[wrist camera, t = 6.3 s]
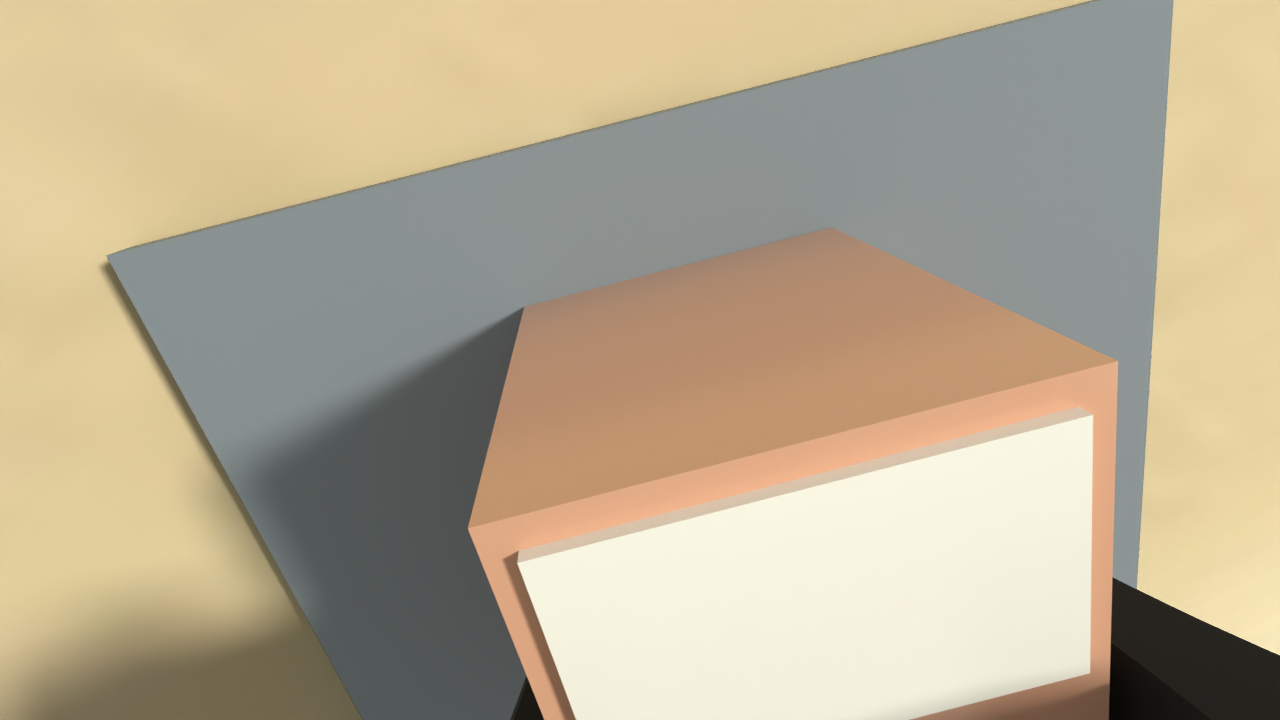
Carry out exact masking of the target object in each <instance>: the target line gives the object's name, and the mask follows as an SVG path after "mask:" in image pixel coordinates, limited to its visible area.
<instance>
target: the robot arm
mask: <svg viewBox="0 0 1280 720" xmlns="http://www.w3.org/2000/svg"><path fill="white" fill-rule="evenodd" d="M510 720H544V718H543V715H542V713H541V710H540V708H539V705H538V703H537V700H536V698H535V695H534V693H533V690H532V688H531V685H530V683H529V680H528V678H527V675H526V678H525V681H524V684H523V687H522V689H521V692H520V695H519V698H518V700H517V703H516V706H515V708H514V711H513V714H512V716H511V719H510ZM1109 720H1280V655H1277V654H1275V653H1273V652H1270V651H1268V650H1266V649H1263V648H1261V647H1259V646H1257V645H1255V644H1252V643H1250V642H1248V641H1246V640H1243V639H1241V638H1239V637H1237V636H1235V635H1232V634H1230V633H1228V632H1226V631H1223V630H1221V629H1219V628H1217V627H1215V626H1212V625H1210V624H1208V623H1206V622H1203V621H1201V620H1199V619H1197V618H1195V617H1193V616H1191V615H1189V614H1187V613H1184V612H1182V611H1180V610H1178V609H1176V608H1174V607H1172V606H1170V605H1168V604H1166V603H1163V602H1161V601H1159V600H1157V599H1155V598H1153V597H1151V596H1149V595H1147V594H1145V593H1143V592H1141V591H1139V590H1137V589H1135V588H1133V587H1131V586H1129V585H1127V584H1125V583H1123V582H1121V581H1119V580H1117V579H1115V578H1113V577H1112V614H1111V652H1110V690H1109Z"/></svg>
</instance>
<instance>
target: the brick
mask: <svg viewBox="0 0 1280 720" xmlns="http://www.w3.org/2000/svg"><path fill="white" fill-rule="evenodd" d="M1117 387H1118V361H1117V360H1115V359H1113V358H1111V357H1108V356H1106V355H1104V354H1102V353H1100V352H1098V351H1096V350H1093V349H1091V348H1089V347H1087V346H1085V345H1083V344H1081V343H1078V342H1076V341H1074V340H1072V339H1070V338H1068V337H1066V336H1063V335H1061V334H1059V333H1057V332H1055V331H1053V330H1051V329H1048V328H1046V327H1044V326H1042V325H1040V324H1038V323H1036V322H1034V321H1031V320H1029V319H1027V318H1025V317H1023V316H1021V315H1019V314H1016V313H1014V312H1012V311H1010V310H1008V309H1006V308H1004V307H1001V306H999V305H997V304H995V303H993V302H991V301H989V300H986V299H984V298H982V297H980V296H978V295H976V294H974V293H971V292H969V291H967V290H965V289H963V288H961V287H959V286H956V285H954V284H952V283H950V282H948V281H946V280H944V279H941V278H939V277H937V276H935V275H933V274H931V273H929V272H926V271H924V270H922V269H920V268H918V267H916V266H914V265H911V264H909V263H907V262H905V261H903V260H901V259H899V258H896V257H894V256H892V255H890V254H888V253H886V252H884V251H881V250H879V249H877V248H875V247H873V246H871V245H869V244H867V243H864V242H862V241H860V240H858V239H856V238H854V237H852V236H849V235H847V234H845V233H843V232H841V231H839V230H837V229H834V228H832V227H831V228H827V229H823V230H819V231H815V232H811V233H808V234H804V235H800V236H796V237H792V238H788V239H784V240H780V241H777V242H773V243H769V244H765V245H761V246H757V247H753V248H749V249H745V250H742V251H738V252H734V253H730V254H726V255H722V256H718V257H714V258H711V259H707V260H703V261H699V262H695V263H691V264H687V265H683V266H679V267H676V268H672V269H668V270H664V271H660V272H656V273H652V274H648V275H644V276H641V277H637V278H633V279H629V280H625V281H621V282H617V283H614V284H610V285H606V286H602V287H598V288H594V289H591V290H587V291H583V292H579V293H575V294H571V295H568V296H564V297H560V298H556V299H552V300H548V301H544V302H541V303H537V304H533V305H529V306H525V307H524V310H523V314H522V318H521V322H520V326H519V330H518V333H517V337H516V341H515V345H514V349H513V353H512V357H511V361H510V365H509V369H508V373H507V377H506V381H505V385H504V388H503V392H502V396H501V400H500V404H499V408H498V412H497V416H496V420H495V424H494V428H493V432H492V436H491V439H490V443H489V447H488V451H487V455H486V459H485V463H484V467H483V471H482V475H481V479H480V483H479V487H478V490H477V494H476V498H475V502H474V506H473V510H472V514H471V518H470V522H469V526H468V530H469V533H470V535H471V538H472V540H473V543H474V545H475V548H476V550H477V553H478V555H479V558H480V560H481V563H482V565H483V568H484V570H485V573H486V575H487V578H488V580H489V583H490V585H491V588H492V590H493V593H494V595H495V598H496V600H497V603H498V605H499V608H500V610H501V613H502V615H503V618H504V620H505V623H506V625H507V628H508V630H509V633H510V635H511V638H512V640H513V643H514V645H515V648H516V650H517V653H518V655H519V658H520V660H521V663H522V665H523V668H524V670H525V673H526V675H527V678H528V680H529V683H530V685H531V688H532V690H533V693H534V695H535V698H536V700H537V703H538V705H539V708H540V710H541V713H542V715H543V718H544V720H1109V690H1110V652H1111V614H1112V576H1113V538H1114V500H1115V463H1116V425H1117Z"/></svg>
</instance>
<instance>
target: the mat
mask: <svg viewBox="0 0 1280 720" xmlns="http://www.w3.org/2000/svg"><path fill="white" fill-rule="evenodd" d="M1172 14H1173V0H1092V1H1088V2H1084V3H1080V4H1076V5H1072V6H1068V7H1065V8H1061V9H1057V10H1053V11H1049V12H1045V13H1041V14H1037V15H1033V16H1030V17H1026V18H1022V19H1018V20H1014V21H1010V22H1006V23H1002V24H998V25H994V26H991V27H987V28H983V29H979V30H975V31H971V32H967V33H963V34H959V35H955V36H952V37H948V38H944V39H940V40H936V41H932V42H928V43H924V44H920V45H917V46H913V47H909V48H905V49H901V50H897V51H893V52H889V53H885V54H881V55H878V56H874V57H870V58H866V59H862V60H858V61H854V62H850V63H846V64H842V65H839V66H835V67H831V68H827V69H823V70H819V71H815V72H811V73H807V74H804V75H800V76H796V77H792V78H788V79H784V80H780V81H776V82H772V83H768V84H765V85H761V86H757V87H753V88H749V89H745V90H741V91H737V92H733V93H730V94H726V95H722V96H718V97H714V98H710V99H706V100H702V101H698V102H694V103H691V104H687V105H683V106H679V107H675V108H671V109H667V110H663V111H659V112H655V113H652V114H648V115H644V116H640V117H636V118H632V119H628V120H624V121H620V122H617V123H613V124H609V125H605V126H601V127H597V128H593V129H589V130H585V131H581V132H578V133H574V134H570V135H566V136H562V137H558V138H554V139H550V140H546V141H542V142H539V143H535V144H531V145H527V146H523V147H519V148H515V149H511V150H507V151H504V152H500V153H496V154H492V155H488V156H484V157H480V158H476V159H472V160H468V161H465V162H461V163H457V164H453V165H449V166H445V167H441V168H437V169H433V170H429V171H426V172H422V173H418V174H414V175H410V176H406V177H402V178H398V179H394V180H391V181H387V182H383V183H379V184H375V185H371V186H367V187H363V188H359V189H355V190H352V191H348V192H344V193H340V194H336V195H332V196H328V197H324V198H320V199H316V200H313V201H309V202H305V203H301V204H297V205H293V206H289V207H285V208H281V209H278V210H274V211H270V212H266V213H262V214H258V215H254V216H250V217H246V218H242V219H239V220H235V221H231V222H227V223H223V224H219V225H215V226H211V227H207V228H203V229H200V230H196V231H192V232H188V233H184V234H180V235H176V236H172V237H168V238H165V239H161V240H157V241H153V242H149V243H145V244H141V245H137V246H133V247H130V248H127V249H124V250H121V251H118V252H115V253H113V254H110V255H107V258H108V260H109V262H110V264H111V265H112V267H113V269H114V271H115V273H116V274H117V276H118V278H119V280H120V282H121V284H122V285H123V287H124V289H125V291H126V293H127V294H128V296H129V298H130V300H131V302H132V303H133V305H134V307H135V309H136V311H137V312H138V314H139V316H140V318H141V320H142V322H143V323H144V325H145V327H146V329H147V331H148V332H149V334H150V336H151V338H152V340H153V341H154V343H155V345H156V347H157V349H158V350H159V352H160V354H161V356H162V358H163V360H164V361H165V363H166V365H167V367H168V369H169V370H170V372H171V374H172V376H173V378H174V379H175V381H176V383H177V385H178V387H179V388H180V390H181V392H182V394H183V396H184V397H185V399H186V401H187V403H188V405H189V407H190V408H191V410H192V412H193V414H194V416H195V417H196V419H197V421H198V423H199V425H200V426H201V428H202V430H203V432H204V434H205V435H206V437H207V439H208V441H209V443H210V445H211V446H212V448H213V450H214V452H215V454H216V455H217V457H218V459H219V461H220V463H221V464H222V466H223V468H224V470H225V472H226V473H227V475H228V477H229V479H230V481H231V482H232V484H233V486H234V488H235V490H236V492H237V493H238V495H239V497H240V499H241V501H242V502H243V504H244V506H245V508H246V510H247V511H248V513H249V515H250V517H251V519H252V520H253V522H254V524H255V526H256V528H257V530H258V531H259V533H260V535H261V537H262V539H263V540H264V542H265V544H266V546H267V548H268V549H269V551H270V553H271V555H272V557H273V558H274V560H275V562H276V564H277V566H278V567H279V569H280V571H281V573H282V575H283V577H284V578H285V580H286V582H287V584H288V586H289V587H290V589H291V591H292V593H293V595H294V596H295V598H296V600H297V602H298V604H299V605H300V607H301V609H302V611H303V613H304V615H305V616H306V618H307V620H308V622H309V624H310V625H311V627H312V629H313V631H314V633H315V634H316V636H317V638H318V640H319V642H320V643H321V645H322V647H323V649H324V651H325V653H326V654H327V656H328V658H329V660H330V662H331V663H332V665H333V667H334V669H335V671H336V672H337V674H338V676H339V678H340V680H341V681H342V683H343V685H344V687H345V689H346V690H347V692H348V694H349V696H350V698H351V700H352V701H353V703H354V705H355V707H356V709H357V710H358V712H359V714H360V716H361V718H362V719H363V720H510V719H511V716H512V714H513V711H514V708H515V706H516V703H517V700H518V698H519V695H520V692H521V689H522V687H523V684H524V681H525V678H526V673H525V670H524V668H523V665H522V663H521V660H520V658H519V655H518V653H517V650H516V648H515V645H514V643H513V640H512V638H511V635H510V633H509V630H508V628H507V625H506V623H505V620H504V618H503V615H502V613H501V610H500V608H499V605H498V603H497V600H496V598H495V595H494V593H493V590H492V588H491V585H490V583H489V580H488V578H487V575H486V573H485V570H484V568H483V565H482V563H481V560H480V558H479V555H478V553H477V550H476V548H475V545H474V543H473V540H472V538H471V535H470V533H469V530H468V526H469V522H470V518H471V514H472V510H473V506H474V502H475V498H476V494H477V490H478V487H479V483H480V479H481V475H482V471H483V467H484V463H485V459H486V455H487V451H488V447H489V443H490V439H491V436H492V432H493V428H494V424H495V420H496V416H497V412H498V408H499V404H500V400H501V396H502V392H503V388H504V385H505V381H506V377H507V373H508V369H509V365H510V361H511V357H512V353H513V349H514V345H515V341H516V337H517V333H518V330H519V326H520V322H521V318H522V314H523V310H524V307H525V306H529V305H533V304H537V303H541V302H544V301H548V300H552V299H556V298H560V297H564V296H568V295H571V294H575V293H579V292H583V291H587V290H591V289H594V288H598V287H602V286H606V285H610V284H614V283H617V282H621V281H625V280H629V279H633V278H637V277H641V276H644V275H648V274H652V273H656V272H660V271H664V270H668V269H672V268H676V267H679V266H683V265H687V264H691V263H695V262H699V261H703V260H707V259H711V258H714V257H718V256H722V255H726V254H730V253H734V252H738V251H742V250H745V249H749V248H753V247H757V246H761V245H765V244H769V243H773V242H777V241H780V240H784V239H788V238H792V237H796V236H800V235H804V234H808V233H811V232H815V231H819V230H823V229H827V228H831V227H832V228H834V229H837V230H839V231H841V232H843V233H845V234H847V235H849V236H852V237H854V238H856V239H858V240H860V241H862V242H864V243H867V244H869V245H871V246H873V247H875V248H877V249H879V250H881V251H884V252H886V253H888V254H890V255H892V256H894V257H896V258H899V259H901V260H903V261H905V262H907V263H909V264H911V265H914V266H916V267H918V268H920V269H922V270H924V271H926V272H929V273H931V274H933V275H935V276H937V277H939V278H941V279H944V280H946V281H948V282H950V283H952V284H954V285H956V286H959V287H961V288H963V289H965V290H967V291H969V292H971V293H974V294H976V295H978V296H980V297H982V298H984V299H986V300H989V301H991V302H993V303H995V304H997V305H999V306H1001V307H1004V308H1006V309H1008V310H1010V311H1012V312H1014V313H1016V314H1019V315H1021V316H1023V317H1025V318H1027V319H1029V320H1031V321H1034V322H1036V323H1038V324H1040V325H1042V326H1044V327H1046V328H1048V329H1051V330H1053V331H1055V332H1057V333H1059V334H1061V335H1063V336H1066V337H1068V338H1070V339H1072V340H1074V341H1076V342H1078V343H1081V344H1083V345H1085V346H1087V347H1089V348H1091V349H1093V350H1096V351H1098V352H1100V353H1102V354H1104V355H1106V356H1108V357H1111V358H1113V359H1115V360H1117V361H1118V387H1117V425H1116V463H1115V500H1114V538H1113V576H1112V577H1113V578H1115V579H1117V580H1119V581H1121V582H1123V583H1125V584H1127V585H1129V586H1131V587H1133V588H1135V589H1137V574H1138V558H1139V542H1140V526H1141V510H1142V494H1143V478H1144V462H1145V446H1146V430H1147V414H1148V398H1149V382H1150V366H1151V350H1152V334H1153V318H1154V302H1155V286H1156V270H1157V254H1158V238H1159V222H1160V206H1161V190H1162V174H1163V158H1164V142H1165V126H1166V110H1167V94H1168V78H1169V62H1170V46H1171V30H1172Z"/></svg>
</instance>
